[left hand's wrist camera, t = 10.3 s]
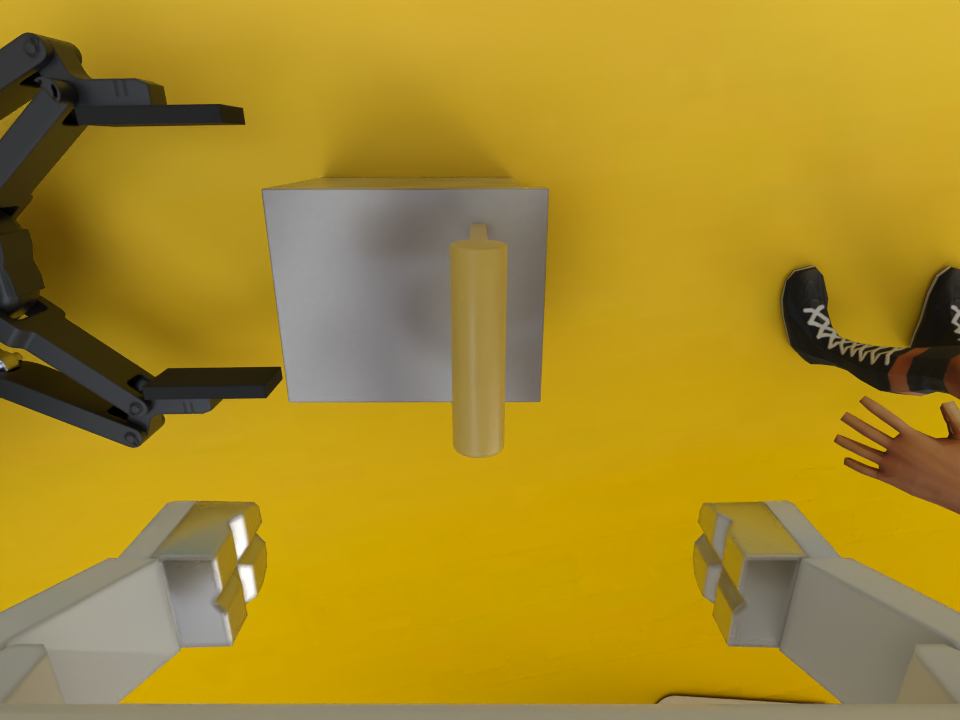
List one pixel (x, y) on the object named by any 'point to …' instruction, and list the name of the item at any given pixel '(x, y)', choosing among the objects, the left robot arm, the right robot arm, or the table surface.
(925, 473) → the figurine
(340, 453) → the table surface
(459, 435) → the lid
